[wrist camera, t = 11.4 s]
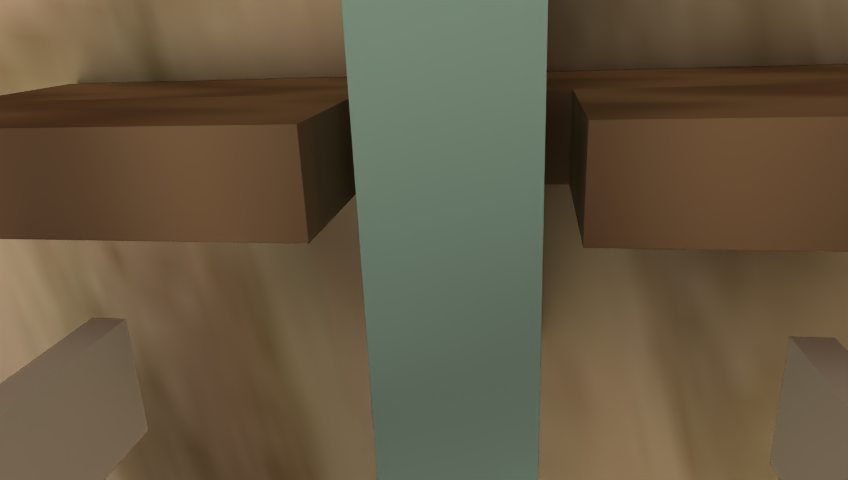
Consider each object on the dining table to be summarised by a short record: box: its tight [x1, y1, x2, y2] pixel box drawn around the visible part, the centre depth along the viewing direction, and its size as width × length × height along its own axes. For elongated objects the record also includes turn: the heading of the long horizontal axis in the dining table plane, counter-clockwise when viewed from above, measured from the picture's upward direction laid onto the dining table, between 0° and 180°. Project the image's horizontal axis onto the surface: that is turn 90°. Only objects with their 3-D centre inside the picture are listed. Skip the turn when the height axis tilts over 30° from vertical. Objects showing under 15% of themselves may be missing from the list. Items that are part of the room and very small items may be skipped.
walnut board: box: [0, 64, 848, 252], centre depth 14 cm, size 26×2×8 cm, turn 92°
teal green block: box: [341, 0, 548, 480], centre depth 14 cm, size 3×14×8 cm, turn 2°
